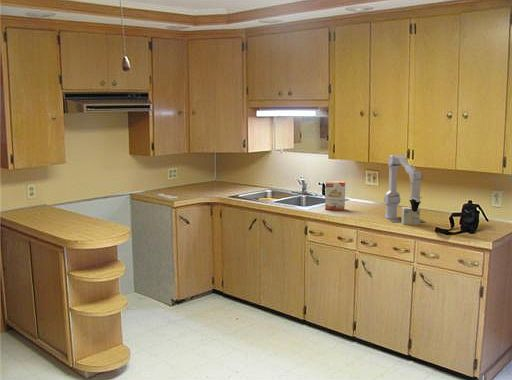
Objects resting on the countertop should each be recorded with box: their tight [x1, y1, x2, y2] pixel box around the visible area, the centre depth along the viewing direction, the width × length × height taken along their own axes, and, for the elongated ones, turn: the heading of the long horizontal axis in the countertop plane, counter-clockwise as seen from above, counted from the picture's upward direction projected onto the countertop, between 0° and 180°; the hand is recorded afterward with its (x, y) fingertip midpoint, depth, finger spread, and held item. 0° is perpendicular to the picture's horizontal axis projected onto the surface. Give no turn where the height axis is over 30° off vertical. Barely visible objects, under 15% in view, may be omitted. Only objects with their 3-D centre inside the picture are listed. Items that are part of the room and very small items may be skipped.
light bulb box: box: [401, 206, 421, 226], centre depth 360 cm, size 11×7×11 cm, turn 88°
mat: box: [389, 218, 426, 223], centre depth 369 cm, size 8×22×1 cm, turn 89°
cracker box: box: [324, 180, 346, 211], centre depth 408 cm, size 14×6×21 cm, turn 76°
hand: (414, 211), depth 352 cm, fingers open, 2 cm apart
